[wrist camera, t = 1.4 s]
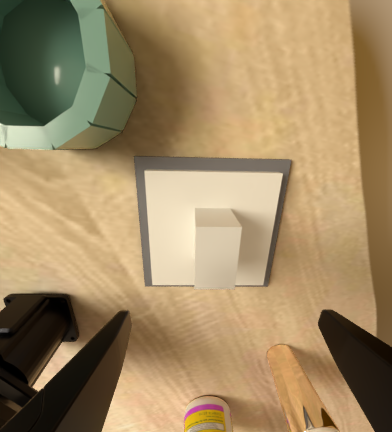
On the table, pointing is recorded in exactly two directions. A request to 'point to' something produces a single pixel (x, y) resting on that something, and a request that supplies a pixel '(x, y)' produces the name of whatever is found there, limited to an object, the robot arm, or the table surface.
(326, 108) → the table surface
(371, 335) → the robot arm
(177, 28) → the table surface
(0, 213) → the table surface
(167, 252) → the lid
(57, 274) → the table surface
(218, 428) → the supplement bottle
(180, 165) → the mat
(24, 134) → the bowl
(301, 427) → the milkshake
